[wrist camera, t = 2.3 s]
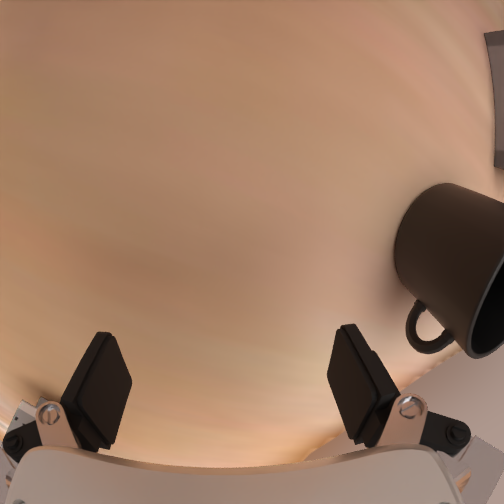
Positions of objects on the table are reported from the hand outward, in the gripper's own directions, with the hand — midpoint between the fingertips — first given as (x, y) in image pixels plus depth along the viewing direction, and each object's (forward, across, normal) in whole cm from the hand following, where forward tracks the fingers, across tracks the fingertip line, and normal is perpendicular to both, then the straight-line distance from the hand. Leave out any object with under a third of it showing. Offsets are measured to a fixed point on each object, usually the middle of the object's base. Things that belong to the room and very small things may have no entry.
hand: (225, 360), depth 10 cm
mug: (+8, -16, -1) cm, 18 cm away
